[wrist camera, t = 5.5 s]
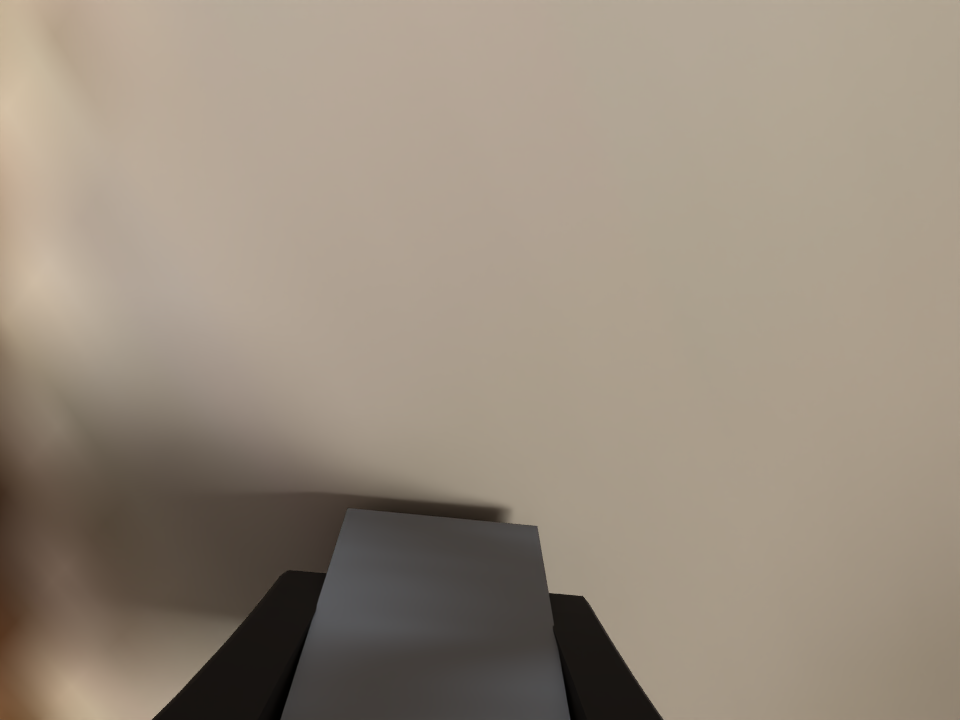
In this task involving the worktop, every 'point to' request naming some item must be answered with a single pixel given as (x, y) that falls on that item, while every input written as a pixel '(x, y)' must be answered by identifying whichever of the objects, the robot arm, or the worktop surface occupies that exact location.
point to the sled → (431, 625)
